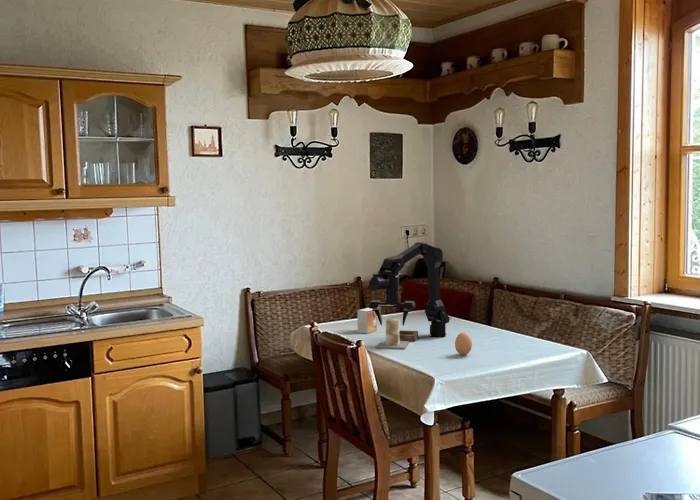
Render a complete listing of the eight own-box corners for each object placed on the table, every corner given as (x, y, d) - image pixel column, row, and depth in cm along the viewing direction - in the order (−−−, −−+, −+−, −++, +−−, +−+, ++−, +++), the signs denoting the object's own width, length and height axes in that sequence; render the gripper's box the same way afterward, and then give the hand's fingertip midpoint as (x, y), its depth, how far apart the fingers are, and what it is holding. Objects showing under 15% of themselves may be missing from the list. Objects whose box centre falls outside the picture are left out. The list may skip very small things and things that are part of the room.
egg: (451, 355, 282) (451, 332, 282) (461, 352, 287) (461, 329, 286) (465, 357, 278) (465, 334, 277) (475, 355, 282) (475, 332, 281)
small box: (367, 334, 325) (367, 311, 324) (357, 332, 329) (357, 309, 328) (377, 331, 332) (377, 308, 331) (367, 329, 335) (367, 307, 334)
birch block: (399, 342, 302) (399, 319, 301) (397, 345, 297) (397, 321, 296) (387, 342, 303) (387, 319, 302) (385, 344, 298) (385, 321, 298)
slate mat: (408, 343, 305) (408, 341, 305) (405, 349, 293) (405, 347, 293) (381, 342, 307) (381, 340, 307) (376, 348, 296) (376, 346, 296)
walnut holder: (418, 336, 318) (418, 330, 318) (415, 341, 308) (415, 335, 308) (394, 335, 321) (394, 330, 320) (391, 340, 310) (391, 334, 310)
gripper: (416, 286, 304) (416, 322, 305) (373, 285, 308) (373, 321, 309) (413, 289, 293) (413, 327, 295) (368, 288, 297) (368, 326, 298)
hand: (392, 325), depth 299 cm, fingers open, 9 cm apart
